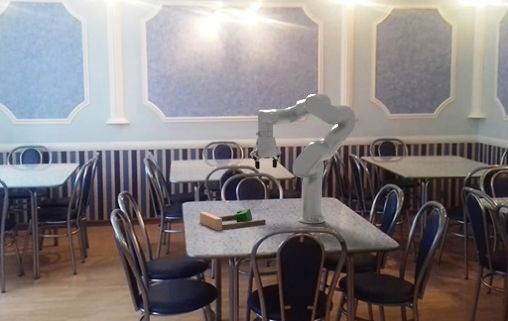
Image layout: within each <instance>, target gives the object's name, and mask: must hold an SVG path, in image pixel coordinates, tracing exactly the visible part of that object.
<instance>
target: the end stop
mask: <svg viewBox="0 0 508 321" xmlns="http://www.w3.org/2000/svg"><path fill="white" fill-rule="evenodd" d="M199 223H200V224H202V225H204V226H206V227H208V228H210V229H212V230H216V231H219V230H220V231H221V230H223V229H222V224H223V221H222V218H219V216H216V215H214V214H211V213H209V212H207V211H200V212H199Z"/></svg>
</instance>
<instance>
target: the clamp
mask: <svg viewBox="0 0 508 321" xmlns="http://www.w3.org/2000/svg"><path fill="white" fill-rule="evenodd" d="M233 215H234V216H235V218H236V219H235V222H236V223H238V222H246V221H253V216H252V212H251V208H250V207H249V208H245V209H241V210H237V211H236V213H234V214H233Z"/></svg>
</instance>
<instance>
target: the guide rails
mask: <svg viewBox="0 0 508 321" xmlns="http://www.w3.org/2000/svg"><path fill="white" fill-rule="evenodd" d="M234 215H235V214H229V215H228V214H227V215H220V216H219V215H218V217H219V218H222V222H223V221H232V220H233V221H235V220H236V218H235V216H234ZM266 222H267V221H266V219H263V218H262V219H255V220H252V221H246V222H238V223H237V222H232V223H231V222H230V223H222V230H227V229H228V230H229V228H230V229H237V227H238V228H245V227H254V226H262V225H266Z"/></svg>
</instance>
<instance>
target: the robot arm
mask: <svg viewBox="0 0 508 321" xmlns="http://www.w3.org/2000/svg"><path fill="white" fill-rule="evenodd" d="M311 116H314V117H316V118H317V119H319V120H320V121H322V122H324V123H325V124H328V125H333V127H332V128H331V129H330V130H329V131H327V133H326V134H325V136H323V138H322V139H319V140H314V141H311V142H309V143H308V144H307V145H306V146H305V147H304V149H302V151H301V152H300V153H299V155H298V156H297V157H296V159H295V160H294V161H293V163H292V172H293V174H294V175H295V176H296V177H297V178H302V181H301V216H300V217H298V220H297V221H298V222H300V223H302V224H303V223H304V224H321V223H324V222H326V221H325V216H323V212H322V209H323V208H322V207H323V206H322V203H323V202H322V201H323V200H322V199H323V195H322V193H323V189H322V188H323V176H324V175H323V174H324V169H325V164H324V161H327V160H330V159H331V158H332V157H333V156H334V155H335V154H336V152H337V151H338V150H339V149H340V148H341V146H342V145H343V144H344V142H345V141H346V140H347V139H348V138H349V137H350V135H351V134H352V132H353V131H354V130H355V126H356V123H357V120H356V119H357V118H356V114H355V111H354V110H353V109H352V107H350V106H347V105H342V104H340V105H334V104H333V105H332V100H331V98H330V96H328V95H327V94H324V93H312V94H309V95H307V96H306V97H305V99H301V100H298V101H297V102H296V103H295V105H294V106H291V107H288V108H280V109H279V108H277V109H259V110H258V112H257V132H255V135H256V136H257V138H256V143H255V149H254V150H252V151H251V152H249V155H250V157H251V159H252V160H253V161H254V168H255V169H256V170H260V168H261V166H260V165H261V164H260V161H259V160H260V159H261V158H272V168H274V169H277V167H278V160H279V158H281V154H282V150H280V149H278V147H277V141H276V137H275V136H274V126H279V125H288V124H291V123H294V122H298V121H301V120H303V119H305V118H308V117H311Z"/></svg>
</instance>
